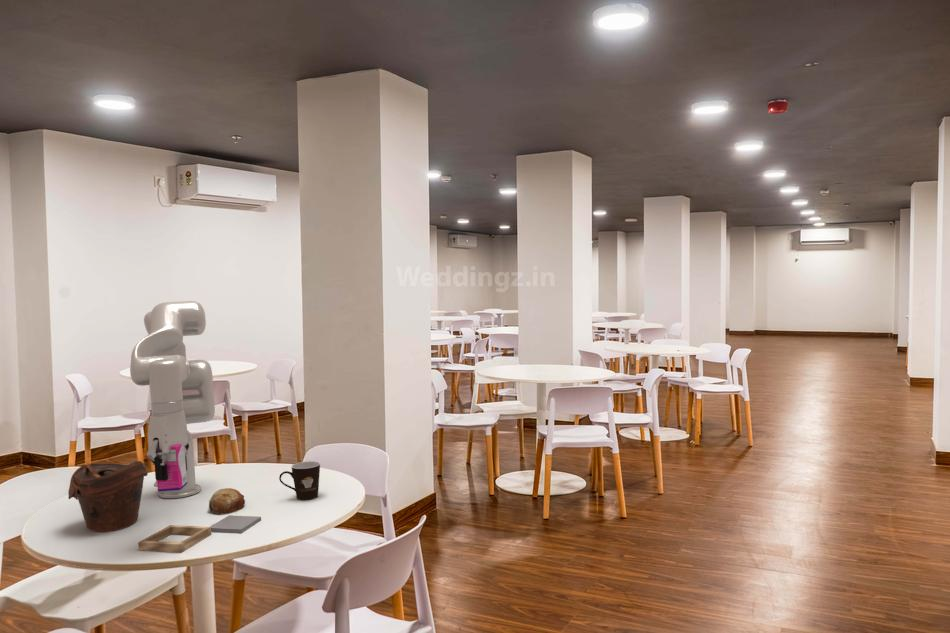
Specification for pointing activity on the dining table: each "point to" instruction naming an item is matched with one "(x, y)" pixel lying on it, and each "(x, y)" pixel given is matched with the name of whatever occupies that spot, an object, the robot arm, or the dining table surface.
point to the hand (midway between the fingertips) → (171, 474)
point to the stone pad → (235, 524)
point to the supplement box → (174, 470)
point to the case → (108, 494)
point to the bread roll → (226, 501)
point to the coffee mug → (305, 479)
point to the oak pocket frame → (155, 545)
